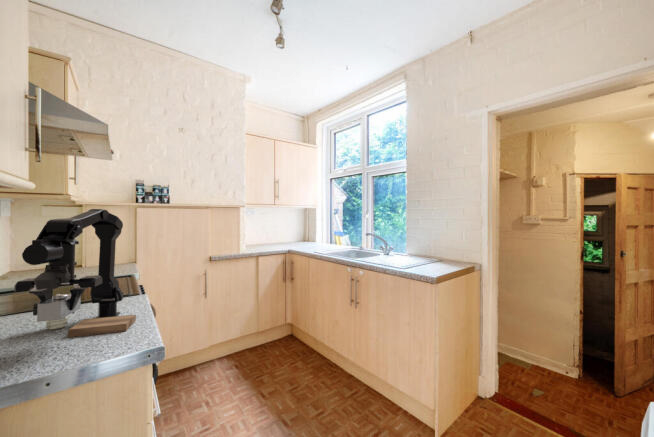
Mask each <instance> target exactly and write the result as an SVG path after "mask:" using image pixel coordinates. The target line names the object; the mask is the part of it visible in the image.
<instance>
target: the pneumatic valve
mask: <svg viewBox="0 0 654 437" xmlns="http://www.w3.org/2000/svg"><path fill="white" fill-rule="evenodd" d="M56 295H60V293H56ZM56 295H55V296H56ZM53 297H54V296H52V298H53ZM39 303H42V302H41V300H40V299H39V301H38V302H34V303H33V306H32V316H33V317H35V316H36V317H37V309H38V304H39ZM73 314H75V312H73V313H71V314H70V315H73ZM66 325H68V317H65V318H63V319H61V320H52V321H46V325H45V326H46V329H49V330H58V329H63V328H65V327H66Z"/></svg>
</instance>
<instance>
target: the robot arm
mask: <svg viewBox="0 0 654 437" xmlns="http://www.w3.org/2000/svg"><path fill="white" fill-rule="evenodd" d="M89 226H91V227H93V228H94V234H95V235H96V237H97V238H98V240H99V255H98V256H99V257H98V274H97V275H86V276H83V277H81V278H77V274H75V266H77V265H78V262H77V261H76V245H79V244H80V242H79V240H78V239H76V238H77V237H79V236H80V235H81V234H83V232H84V231H83V229H85V228H88V227H89ZM123 227H124V223H123V221H122V220H121V218H119V217H118V216H117V215H115V214H113V213H111V212H109V211H108V210H107V209H104V208H91V209H89V210H87V211H85V212H82V213H79V214H77V215H74V216H71V217H67V218H54V219H49V220H48V221H47V222H46V224H45V225H44V226H43V228H42V229H41V231H40V232H39V234H38V235H37V238H36V239H33V240H32V241H31V244H30V245H28V246H26V247H25V249H24V250H23V252H22V253H21V257H22V259H23V261H24V262H25V263H26V264H28V265H30V266H31V265H32V266H37V265H43V264H46V265H45V267H44V271H43V272H41V273H40V274H39V275H37V276H35V277H33V278H31V277H30V278H26V279H22V280H19V281H16V282H15V284H14V286H13V287H14V289H13V291H14V292H15V293H16V292H17V293H18V292H28V294H33V295H35V296H36V297H37V298H38V299H39V301H40V300H41V302H44V301H46V300H49V299H51V298H52V297H54V295H53V292H54V290H56V289H58V288H59V287H64V286H66V287H67V286H73V288H71V289H69V292H70V294H71V301H70V311H71V310H73V309H74V308H75V306H76V304H77V302H78V300H79V298H80V296H82V295H83V293H84V292H85V291H86V290H87V289H88V288H90V293H89V294H90V295H89V296H90V300H91V303H92V304H98V312H97V313H98V315H97V316H96V317H95V318H104V317H115V316H119V315H120V314H121V312H120V311H118V310H117V308H118V303H119V302H122V301H123V299H124V292H123V291H122V289H121V288H120V282H119V280H118V279H117V278H116V277H115V265H116V263H115V261H116V243H117V241H116V240H117V239H118V238H119V236H121V234H122V230H123Z"/></svg>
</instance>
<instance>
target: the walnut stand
mask: <svg viewBox="0 0 654 437" xmlns="http://www.w3.org/2000/svg"><path fill="white" fill-rule="evenodd" d="M136 319H137V316H136V314H130V315H117V316H115V317H104V318H96V317H95V318H84V319H82V320H81V321H79V322H78V323H77V324H75V325H72V326H71V327H70V328H69V329H67V337H68V338H72V337H83V336H91V335H92V336H94V335H101V334H109V333H119V332H127V331H128V330H129V329H130V328H131V326H132V325H134V323H136Z"/></svg>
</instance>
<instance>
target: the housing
mask: <svg viewBox="0 0 654 437" xmlns="http://www.w3.org/2000/svg"><path fill="white" fill-rule="evenodd" d="M59 294H60V293H59ZM59 294H58V295H53V296H52V297H53V298H51V299H49V300H46V301H44V302H42V303H39V304H38V309H37V315H36V322H37V323H39V322H47V321H52V320H61V319H63V318H67V317H68V316H69V315H72V314H71V313H73V312H74V313H75V312H76V311H79V310H80V309H81V304H82V303H81V300H82V299H81V296H82V295H81V296H80V298H79V300H78V302H77V304H76V306H75V308H74V309H73V310H71V311H70V301H71V293H63V294H60V295H59ZM74 313H73V314H74Z"/></svg>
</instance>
